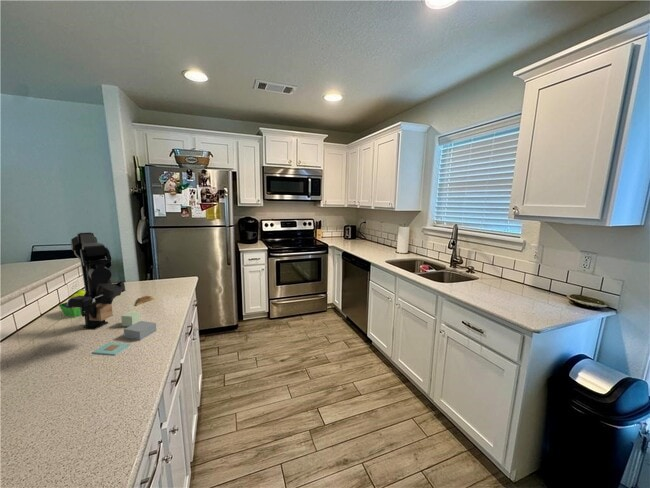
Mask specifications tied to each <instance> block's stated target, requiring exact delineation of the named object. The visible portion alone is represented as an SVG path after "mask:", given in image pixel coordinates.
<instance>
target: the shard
mask: <svg viewBox="0 0 650 488" xmlns="http://www.w3.org/2000/svg"><path fill="white" fill-rule="evenodd" d="M152 300H155V297H154V296H150V295H144V296H140V297H138V298H137V300H136V303H135V305H136V306H139V305H142V304H145V303H147V302H150V301H152Z"/></svg>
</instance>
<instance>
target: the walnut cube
mask: <svg viewBox="0 0 650 488" xmlns="http://www.w3.org/2000/svg"><path fill="white" fill-rule="evenodd" d="M96 313H97V316H96V318H92V316H91V315H90V314H89V320H94V321H103V320H105V321H106V320H107V319H108V318H111V317H113V316H114V315H113V314H114V313H113V304H105V303H99V304H97V305H96Z"/></svg>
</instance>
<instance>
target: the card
mask: <svg viewBox="0 0 650 488" xmlns="http://www.w3.org/2000/svg"><path fill="white" fill-rule="evenodd" d="M129 346H131V343H126V342H125V343H121V342H114V341H113V342H111V341H110V342H109V341H108V342H107V343H106V344H105V343H104V345H102V346H100V347H98V348H97V349H96V350H93V351H92V354H98V355H110V356H116V355H118V354H119V353H121V352H122V351H124V350H125V349H127V348H128V347H129Z"/></svg>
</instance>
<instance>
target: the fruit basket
mask: <svg viewBox="0 0 650 488" xmlns="http://www.w3.org/2000/svg"><path fill="white" fill-rule="evenodd" d="M84 294H85V289H79V290H77V291H76V293H74V294H72V295H71V297H70V299H71V298H74V297H76V296H79V295H80V296H84ZM58 307H59V308H60V309H61V311H62V313H63V314H64V315H65V316H69V317H72V318H77V317H79V316H80V317H82V315H81V312H80V307H69V306H68V301H67V302H63V303H60V304H58Z"/></svg>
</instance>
